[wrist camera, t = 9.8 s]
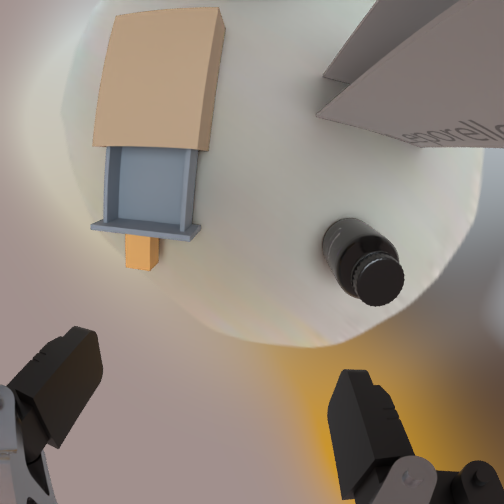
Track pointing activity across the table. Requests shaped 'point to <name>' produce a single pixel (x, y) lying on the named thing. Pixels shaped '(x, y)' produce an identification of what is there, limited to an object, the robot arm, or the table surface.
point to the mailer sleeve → (160, 79)
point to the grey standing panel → (425, 73)
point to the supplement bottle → (363, 262)
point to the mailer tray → (148, 199)
